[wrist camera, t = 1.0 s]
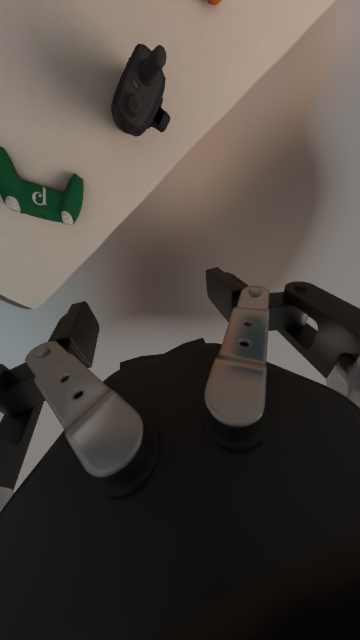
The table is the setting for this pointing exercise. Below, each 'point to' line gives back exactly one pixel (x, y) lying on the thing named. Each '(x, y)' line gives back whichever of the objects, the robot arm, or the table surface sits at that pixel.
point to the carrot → (213, 1)
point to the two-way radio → (141, 92)
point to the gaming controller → (39, 195)
